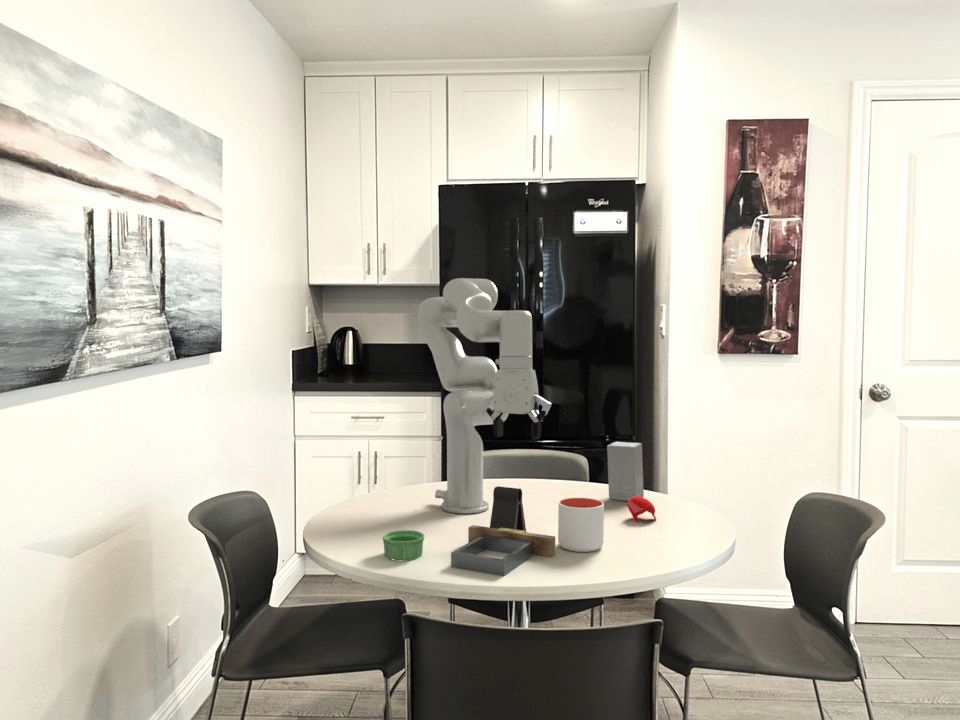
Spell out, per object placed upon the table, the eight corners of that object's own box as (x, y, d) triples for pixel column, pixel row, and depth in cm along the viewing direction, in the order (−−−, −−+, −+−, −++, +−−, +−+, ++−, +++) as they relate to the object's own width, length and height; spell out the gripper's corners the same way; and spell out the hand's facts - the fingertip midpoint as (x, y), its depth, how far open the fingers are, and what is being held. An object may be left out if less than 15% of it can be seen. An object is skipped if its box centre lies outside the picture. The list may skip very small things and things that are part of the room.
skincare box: (644, 498, 222) (644, 442, 222) (634, 503, 216) (635, 446, 216) (615, 494, 227) (616, 440, 226) (605, 499, 221) (606, 443, 220)
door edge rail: (468, 544, 177) (468, 525, 177) (472, 542, 179) (472, 523, 179) (551, 557, 169) (551, 537, 168) (555, 554, 170) (555, 534, 170)
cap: (627, 511, 195) (648, 499, 195) (621, 497, 201) (642, 486, 200) (641, 533, 198) (662, 521, 198) (635, 519, 204) (655, 508, 203)
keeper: (451, 567, 162) (451, 552, 162) (483, 547, 175) (483, 534, 175) (504, 575, 157) (504, 561, 156) (533, 555, 170) (533, 541, 170)
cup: (592, 556, 169) (592, 510, 169) (550, 549, 175) (550, 504, 174) (610, 545, 178) (610, 501, 177) (570, 538, 183) (570, 495, 182)
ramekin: (389, 564, 164) (389, 543, 164) (377, 552, 172) (377, 532, 172) (430, 559, 168) (430, 538, 167) (416, 547, 176) (416, 528, 176)
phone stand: (511, 546, 177) (512, 493, 176) (487, 542, 179) (487, 490, 178) (526, 536, 185) (527, 485, 184) (503, 532, 187) (503, 482, 187)
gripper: (475, 364, 183) (476, 437, 184) (542, 365, 174) (543, 442, 175) (492, 363, 190) (492, 434, 190) (557, 363, 181) (557, 438, 181)
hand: (516, 438), depth 183 cm, fingers open, 9 cm apart
